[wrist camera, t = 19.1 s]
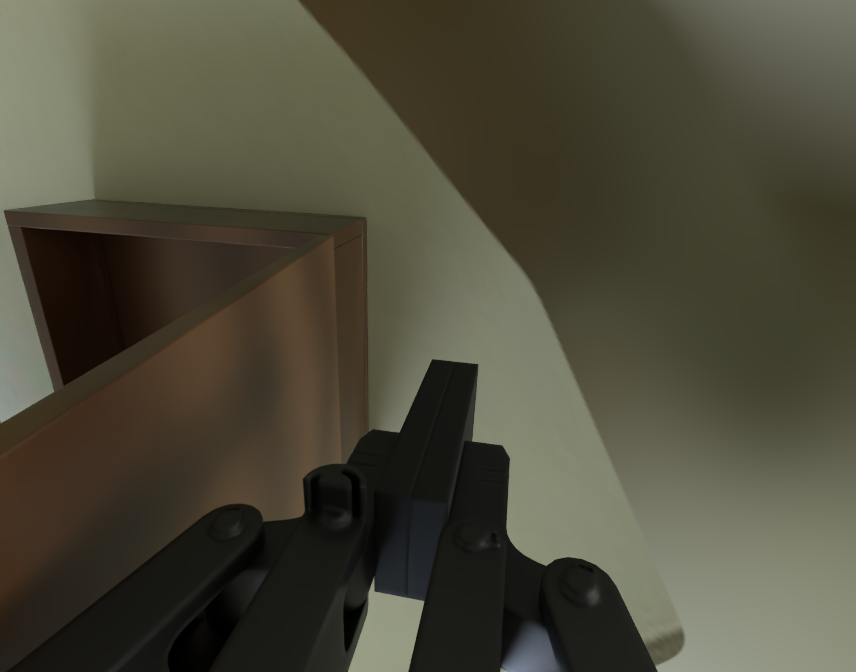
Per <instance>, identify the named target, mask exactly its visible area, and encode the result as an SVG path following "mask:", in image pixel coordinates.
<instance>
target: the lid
mask: <svg viewBox="0 0 856 672" xmlns="http://www.w3.org/2000/svg"><path fill="white" fill-rule="evenodd" d="M329 464H342V463H341V435H340V407H339V379H338V351H337V322H336V294H335V266H334V238H333V236H323V235H319V236H317V237H315V238H313V239H312V240H310V241H308V242H307V243H305V244H303V245H302V246H300V247H298V248H296V249H295V250H293V251H291V252H290V253H288V254H286V255H285V256H283V257H281V258H280V259H278V260H276V261H275V262H273V263H271V264H269V265H268V266H266V267H264V268H263V269H261V270H259V271H258V272H256V273H254V274H253V275H251V276H249V277H248V278H246V279H244V280H242V281H241V282H239V283H237V284H236V285H234V286H232V287H231V288H229V289H227V290H226V291H224V292H222V293H221V294H219V295H217V296H215V297H214V298H212V299H210V300H209V301H207V302H205V303H204V304H202V305H200V306H199V307H197V308H195V309H194V310H192V311H190V312H188V313H187V314H185V315H183V316H182V317H180V318H178V319H177V320H175V321H173V322H172V323H170V324H168V325H167V326H165V327H163V328H161V329H160V330H158V331H156V332H155V333H153V334H151V335H150V336H148V337H146V338H145V339H143V340H141V341H139V342H138V343H136V344H134V345H133V346H131V347H129V348H128V349H126V350H124V351H123V352H121V353H119V354H118V355H116V356H114V357H112V358H111V359H109V360H107V361H106V362H104V363H102V364H101V365H99V366H97V367H96V368H94V369H92V370H91V371H89V372H87V373H85V374H84V375H82V376H80V377H79V378H77V379H75V380H74V381H72V382H70V383H69V384H67V385H65V386H64V387H62V388H60V389H58V390H57V391H55V392H53V393H52V394H50V395H48V396H47V397H45V398H43V399H42V400H40V401H38V402H37V403H35V404H33V405H31V406H30V407H28V408H26V409H25V410H23V411H21V412H20V413H18V414H16V415H15V416H13V417H11V418H10V419H8V420H6V421H4V422H3V423H1V424H0V672H7V671H8V670H9V669H11V668H12V667H13V666H14V665H16V664H17V663H18V662H19V661H21V660H22V659H23V658H24V657H26V656H27V655H28V654H30V653H31V652H32V651H33V650H35V649H36V648H37V647H38V646H40V645H41V644H42V643H43V642H45V641H46V640H47V639H48V638H50V637H51V636H52V635H54V634H55V633H56V632H57V631H59V630H60V629H61V628H62V627H64V626H65V625H66V624H67V623H69V622H70V621H71V620H72V619H74V618H75V617H76V616H78V615H79V614H80V613H81V612H83V611H84V610H85V609H86V608H88V607H89V606H90V605H91V604H93V603H94V602H95V601H96V600H98V599H99V598H100V597H102V596H103V595H104V594H105V593H107V592H108V591H109V590H110V589H112V588H113V587H114V586H115V585H117V584H118V583H119V582H120V581H122V580H123V579H124V578H126V577H127V576H128V575H129V574H131V573H132V572H133V571H134V570H136V569H137V568H138V567H139V566H141V565H142V564H143V563H144V562H146V561H147V560H148V559H150V558H151V557H152V556H153V555H155V554H156V553H157V552H158V551H160V550H161V549H162V548H163V547H165V546H166V545H167V544H168V543H170V542H171V541H172V540H173V539H175V538H176V537H177V536H179V535H180V534H181V533H182V532H184V531H185V530H186V529H187V528H189V527H190V526H191V525H192V524H194V523H195V522H196V521H197V520H199V519H200V518H201V517H203V516H204V515H205V514H207V513H209V512H210V511H212V510H214V509H215V508H219V507H222V506H225V505H228V504H239V503H242V504H247V505H252V506H254V507H255V508H256V509H258V510H259V511H260V513H261V515H262V517H263V522H265V521H276V520H287V519H293V518H298V517H301V516H302V515H303V514H304V512H305V505H304V491H303V478H304V477H305V476H306V475H307V474H308V473H309V472H310V471H312V470H314V469H316V468H318V467H320V466H324V465H329Z"/></svg>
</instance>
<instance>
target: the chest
mask: <svg viewBox="0 0 856 672" xmlns="http://www.w3.org/2000/svg"><path fill="white" fill-rule="evenodd" d="M4 214H5V218H6V221H7V225H8V228H9V232H10V236H11V239H12V243H13V246H14V250H15V253H16V257H17V260H18V264H19V268H20V271H21V275H22V278H23V282H24V285H25V289H26V293H27V296H28V300H29V303H30V307H31V310H32V314H33V317H34V321H35V325H36V328H37V332H38V335H39V339H40V342H41V346H42V349H43V353H44V357H45V360H46V364H47V367H48V371H49V374H50V378H51V381H52V385H53V389H54V392H55V391H57V390H58V389H60V388H62V387H64V386H65V385H67V384H69V383H70V382H72V381H74V380H75V379H77V378H79V377H80V376H82V375H84V374H85V373H87V372H89V371H91V370H92V369H94V368H96V367H97V366H99V365H101V364H102V363H104V362H106V361H107V360H109V359H111V358H112V357H114V356H116V355H118V354H119V353H121V352H123V351H124V350H126V349H128V348H129V347H131V346H133V345H134V344H136V343H138V342H139V341H141V340H143V339H145V338H146V337H148V336H150V335H151V334H153V333H155V332H156V331H158V330H160V329H161V328H163V327H165V326H167V325H168V324H170V323H172V322H173V321H175V320H177V319H178V318H180V317H182V316H183V315H185V314H187V313H188V312H190V311H192V310H194V309H195V308H197V307H199V306H200V305H202V304H204V303H205V302H207V301H209V300H210V299H212V298H214V297H215V296H217V295H219V294H221V293H222V292H224V291H226V290H227V289H229V288H231V287H232V286H234V285H236V284H237V283H239V282H241V281H242V280H244V279H246V278H248V277H249V276H251V275H253V274H254V273H256V272H258V271H259V270H261V269H263V268H264V267H266V266H268V265H269V264H271V263H273V262H275V261H276V260H278V259H280V258H281V257H283V256H285V255H286V254H288V253H290V252H291V251H293V250H295V249H296V248H298V247H300V246H302V245H303V244H305V243H307V242H308V241H310V240H312V239H313V238H315V237H317V236H319V235H323V236H333V238H334V266H335V294H336V322H337V351H338V379H339V407H340V435H341V463H342V464H346V463H347V461H348V459H349V457H350V455H351V453H353V450H354V448H355V446H356V445H357V443H358V441H359V439H360V438H362V437H363V436H364V435H366V434H367V433H369V420H368V322H367V224H366V218H365V217H354V216H338V215H323V214H308V213H293V212H278V211H262V210H247V209H232V208H217V207H202V206H186V205H171V204H156V203H141V202H125V201H110V200H95V199H93V200H85V201H76V202H68V203H60V204H52V205H43V206H35V207H27V208H19V209H11V210H4Z"/></svg>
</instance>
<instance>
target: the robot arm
mask: <svg viewBox="0 0 856 672" xmlns="http://www.w3.org/2000/svg"><path fill="white" fill-rule="evenodd" d="M477 376H478V364H470V363H461V362H452V361H443V360H434V359H432V361H431V363H430V365H429V368H428V370H427V372H426V374H425V377H424V379H423V381H422V383H421V386H420V388H419V390H418V392H417V395H416V397H415V399H414V402H413V404H412V406H411V408H410V411H409V413H408V415H407V417H406V420H405V422H404V424H403V426H402V429H401V431H400V433H396V432H389V431H382V430H374V429H373V430H371V431H370V432H369V433H367V434H366V435H364V436H363V437H362V438H360V439H359V441H358V443H357V445H356V446H355V448H354V450H353V453H351V455H350V457H349V459H348V461H347V463H346V464H329V465H324V466H320V467H318V468H316V469H314V470H312V471H310V472H309V473H308V474H307V475H306V476H305V477H304V478H303V491H304V505H305V512H304V514H303V515H302V516H301V517H298V518H293V519H287V520H276V521H265V522H263V517H262V515H261V513H260V511H259V510H258V509H256V508H255V507H254V506H252V505H247V504H242V503H239V504H228V505H225V506H222V507H219V508H215V509H214V510H212V511H210V512H209V513H207V514H205V515H204V516H203V517H201V518H200V519H199V520H197V521H196V522H195V523H194V524H192V525H191V526H190V527H189V528H187V529H186V530H185V531H184V532H182V533H181V534H180V535H179V536H177V537H176V538H175V539H173V540H172V541H171V542H170V543H168V544H167V545H166V546H165V547H163V548H162V549H161V550H160V551H158V552H157V553H156V554H155V555H153V556H152V557H151V558H150V559H148V560H147V561H146V562H144V563H143V564H142V565H141V566H139V567H138V568H137V569H136V570H134V571H133V572H132V573H131V574H129V575H128V576H127V577H126V578H124V579H123V580H122V581H120V582H119V583H118V584H117V585H115V586H114V587H113V588H112V589H110V590H109V591H108V592H107V593H105V594H104V595H103V596H102V597H100V598H99V599H98V600H96V601H95V602H94V603H93V604H91V605H90V606H89V607H88V608H86V609H85V610H84V611H83V612H81V613H80V614H79V615H78V616H76V617H75V618H74V619H72V620H71V621H70V622H69V623H67V624H66V625H65V626H64V627H62V628H61V629H60V630H59V631H57V632H56V633H55V634H54V635H52V636H51V637H50V638H48V639H47V640H46V641H45V642H43V643H42V644H41V645H40V646H38V647H37V648H36V649H35V650H33V651H32V652H31V653H30V654H28V655H27V656H26V657H24V658H23V659H22V660H21V661H19V662H18V663H17V664H16V665H14V666H13V667H12V668H11V669H9V670H8V671H7V672H348V669H349V666H350V663H351V661H352V658H353V655H354V652H355V649H356V646H357V643H358V640H359V637H360V634H361V631H362V628H363V625H364V622H365V619H366V616H367V611H368V592H369V589H370V587H371V584H372V581H373V578H374V581H375V592H381V593H386V594H391V595H396V596H401V597H407V598H412V599H417V600H422V601H425V602H424V606H423V610H422V615H421V619H420V624H419V628H418V632H417V637H416V641H415V646H414V650H413V655H412V659H411V663H410V668H409V672H500V668H502V669H504V670H506V671H507V672H657V669H656V667H655V665H654V663H653V661H652V659H651V657H650V655H649V653H648V651H647V648H646V646H645V644H644V642H643V640H642V638H641V636H640V634H639V632H638V630H637V628H636V626H635V624H634V622H633V620H632V618H631V616H630V613H629V611H628V609H627V607H626V605H625V603H624V601H623V599H622V597H621V595H620V593H619V591H618V589H617V587H616V585H615V584H614V582H613V581H612V580H611V578H610V577H609V575H608V574H607V573H605V572H604V571H603V570H601V569H600V568H599V567H598V566H596V565H594V564H592V563H590V562H587V561H585V560H583V559H577V558H570V557H567V558H561V559H556V560H554V561H553V562H551V563H550V564H549V565H547V566H545V565H542V564H540V563H538V562H536V561H534V560H532V559H530V558H528V557H526V556H525V555H523V554H522V553H521V552H520V551H518V550H517V549H516V548H515V547H514V545H513V544H512V543H511V541H510V539H509V537H508V535H507V529H506V520H507V501H508V482H509V463H510V458H509V456H508V455H507V453H506V451H505V449H504V448H503V446H501V445H494V444H487V443H479V442H472V437H473V424H474V412H475V400H476V388H477Z"/></svg>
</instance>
